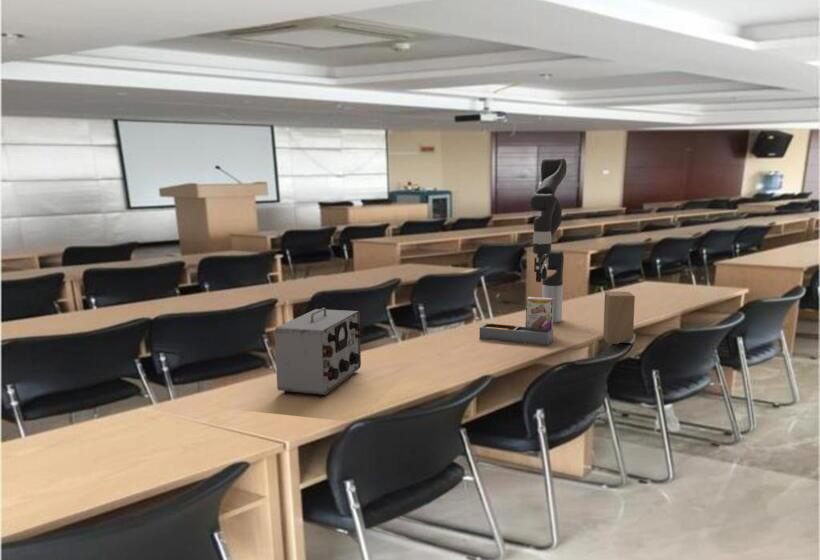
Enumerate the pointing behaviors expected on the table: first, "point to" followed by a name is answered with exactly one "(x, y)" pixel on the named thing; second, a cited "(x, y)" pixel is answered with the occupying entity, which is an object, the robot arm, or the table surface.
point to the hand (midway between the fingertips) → (541, 280)
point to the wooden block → (618, 317)
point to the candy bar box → (539, 312)
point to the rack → (516, 334)
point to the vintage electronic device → (317, 351)
